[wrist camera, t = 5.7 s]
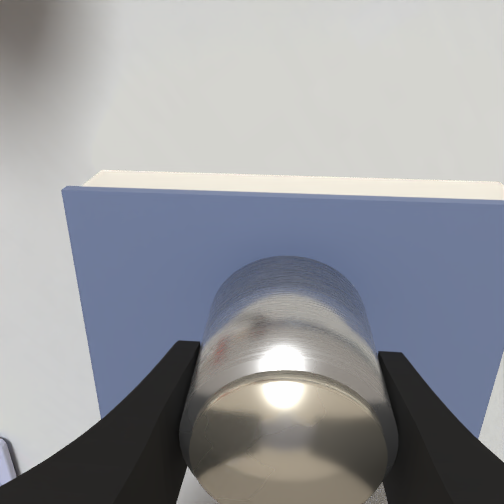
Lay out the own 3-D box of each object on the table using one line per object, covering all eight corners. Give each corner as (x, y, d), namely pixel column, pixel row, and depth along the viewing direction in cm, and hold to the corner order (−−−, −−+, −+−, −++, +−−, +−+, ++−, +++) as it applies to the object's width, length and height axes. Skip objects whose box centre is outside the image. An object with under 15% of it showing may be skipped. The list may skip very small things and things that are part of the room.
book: (448, 402, 21) (472, 460, 18) (127, 382, 22) (103, 434, 19) (503, 174, 16) (545, 205, 13) (98, 163, 17) (61, 190, 14)
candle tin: (364, 385, 16) (395, 534, 11) (217, 387, 16) (190, 531, 11) (369, 252, 13) (410, 368, 9) (200, 258, 14) (159, 372, 9)
